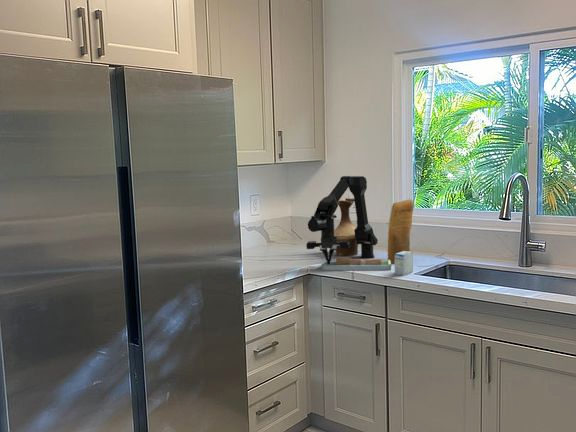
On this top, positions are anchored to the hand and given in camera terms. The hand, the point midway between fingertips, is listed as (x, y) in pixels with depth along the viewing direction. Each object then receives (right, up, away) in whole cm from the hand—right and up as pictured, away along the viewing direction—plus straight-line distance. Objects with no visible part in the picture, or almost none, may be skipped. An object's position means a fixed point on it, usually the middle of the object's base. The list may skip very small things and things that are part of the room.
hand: (328, 264), depth 255 cm
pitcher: (+12, +2, +32) cm, 34 cm away
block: (+6, -2, -1) cm, 7 cm away
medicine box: (+30, -3, -16) cm, 34 cm away
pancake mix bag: (+34, 0, +9) cm, 35 cm away
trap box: (+12, -1, 0) cm, 12 cm away
